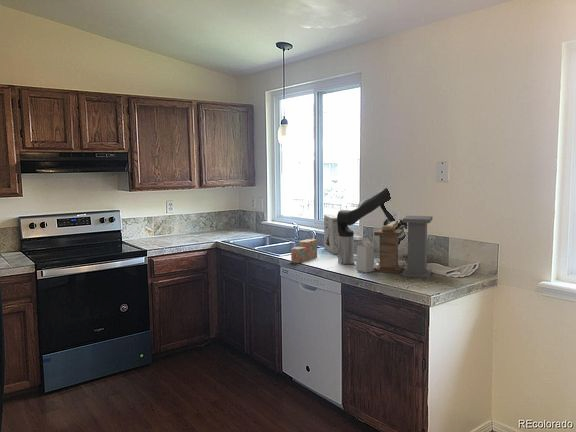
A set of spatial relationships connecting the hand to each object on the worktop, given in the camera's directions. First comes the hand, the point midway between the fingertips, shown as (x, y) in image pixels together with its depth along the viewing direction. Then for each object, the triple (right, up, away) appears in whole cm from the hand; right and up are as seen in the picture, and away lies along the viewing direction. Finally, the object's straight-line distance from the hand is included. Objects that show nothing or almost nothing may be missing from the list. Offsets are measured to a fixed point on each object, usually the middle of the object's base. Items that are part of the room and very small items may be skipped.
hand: (393, 220), depth 280 cm
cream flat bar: (-3, -5, -6) cm, 8 cm away
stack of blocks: (-53, -26, +23) cm, 63 cm away
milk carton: (-19, -29, -11) cm, 36 cm away
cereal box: (-32, -22, +49) cm, 62 cm away
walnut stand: (-5, -28, -9) cm, 30 cm away
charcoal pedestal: (+8, -30, -21) cm, 38 cm away
